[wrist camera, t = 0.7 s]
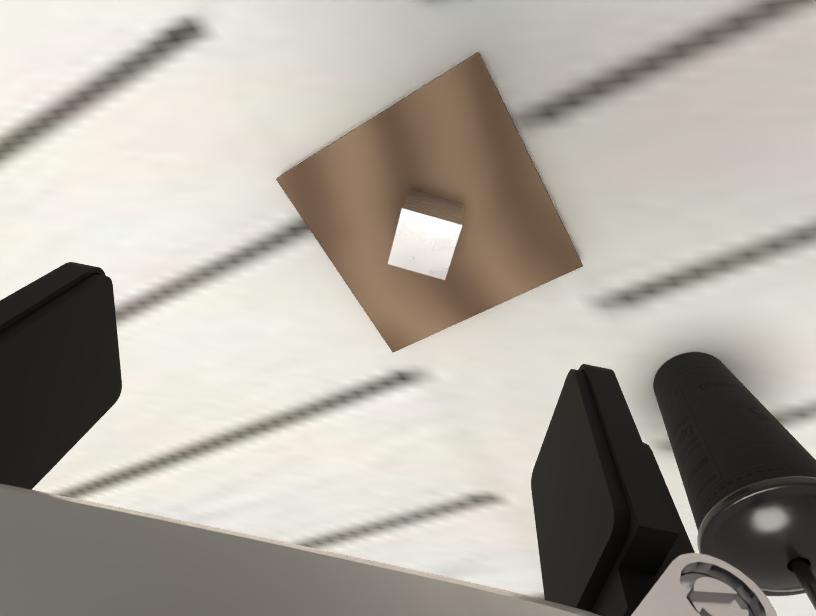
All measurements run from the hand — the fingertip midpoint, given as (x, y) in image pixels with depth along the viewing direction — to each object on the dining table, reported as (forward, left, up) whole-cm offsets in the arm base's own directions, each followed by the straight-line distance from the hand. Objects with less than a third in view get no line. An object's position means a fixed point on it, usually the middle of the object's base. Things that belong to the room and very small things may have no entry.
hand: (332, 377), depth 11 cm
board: (+2, +4, -25) cm, 25 cm away
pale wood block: (+2, +4, -24) cm, 24 cm away
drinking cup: (-8, +23, -25) cm, 35 cm away
